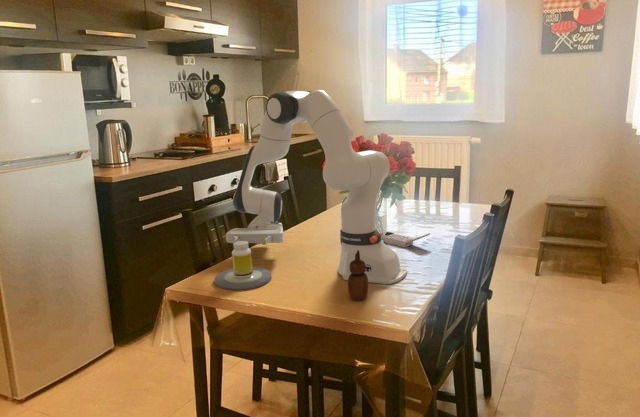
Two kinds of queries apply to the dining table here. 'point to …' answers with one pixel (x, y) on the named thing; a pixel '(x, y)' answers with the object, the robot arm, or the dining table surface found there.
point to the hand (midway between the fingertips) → (250, 242)
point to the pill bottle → (242, 260)
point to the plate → (232, 283)
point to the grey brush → (399, 239)
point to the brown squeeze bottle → (358, 279)
